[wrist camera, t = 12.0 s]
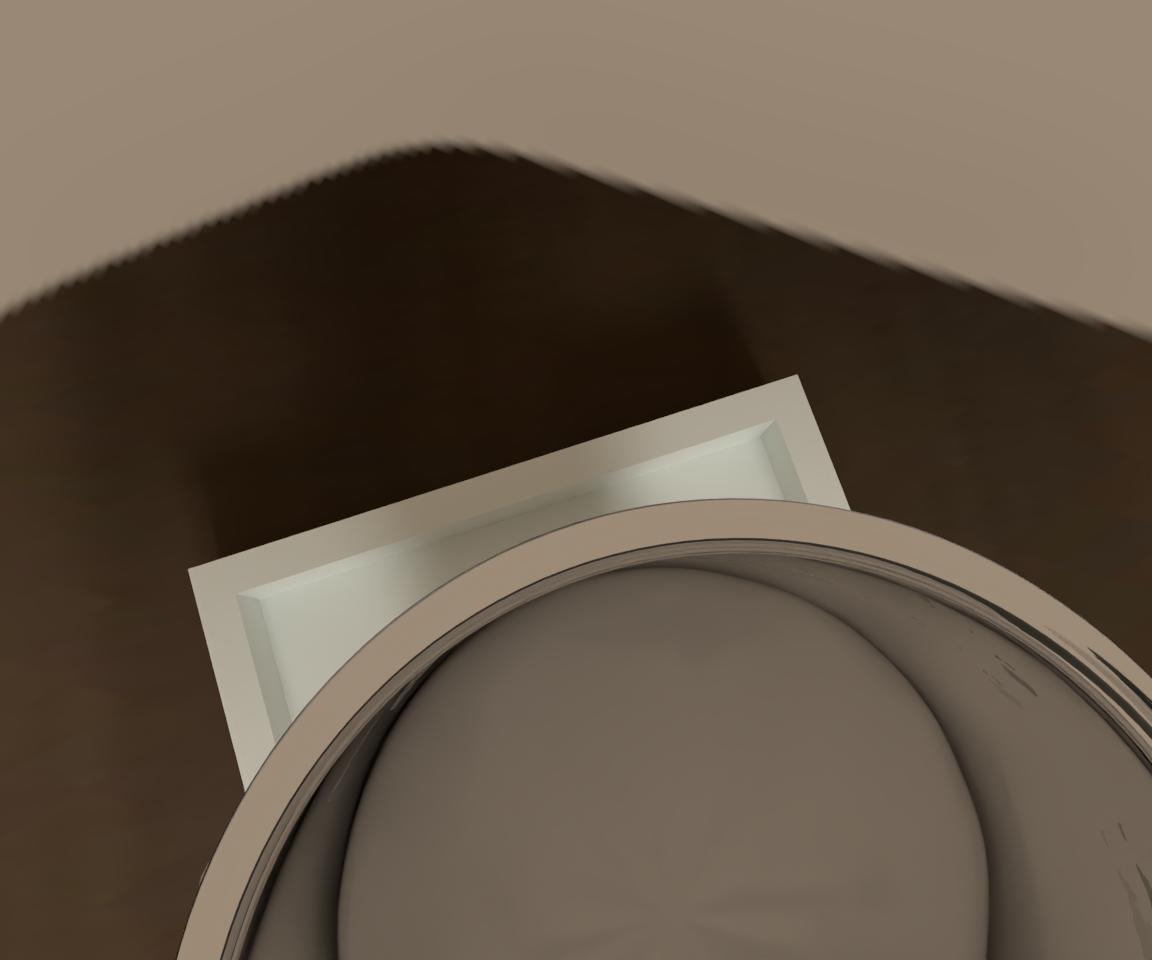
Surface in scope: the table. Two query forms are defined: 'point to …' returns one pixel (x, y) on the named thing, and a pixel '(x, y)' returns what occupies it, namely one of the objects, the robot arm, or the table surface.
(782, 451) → the tray
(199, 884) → the robot arm
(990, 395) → the table surface
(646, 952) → the beer glass
